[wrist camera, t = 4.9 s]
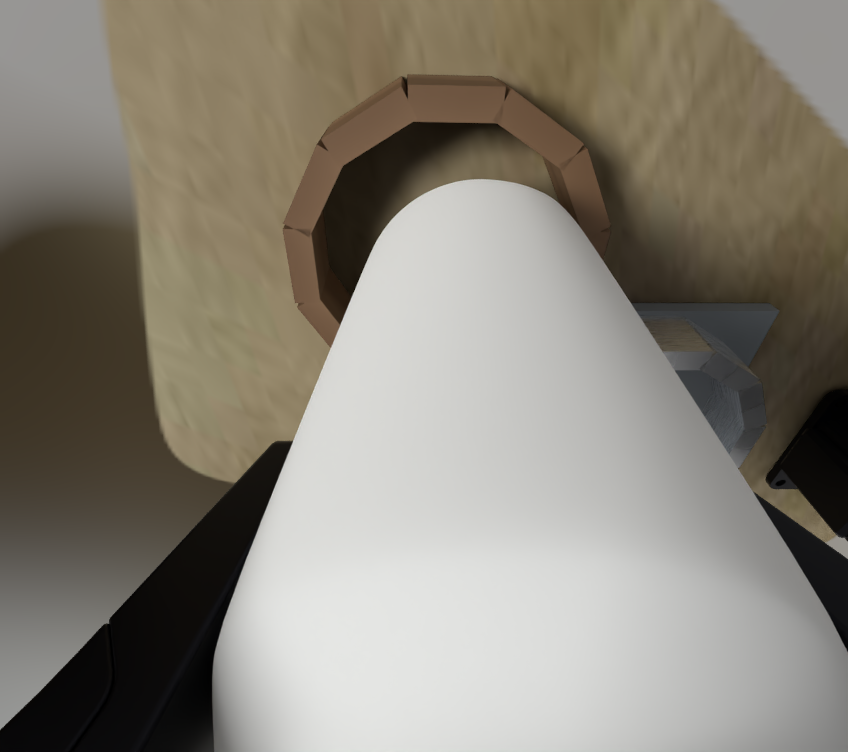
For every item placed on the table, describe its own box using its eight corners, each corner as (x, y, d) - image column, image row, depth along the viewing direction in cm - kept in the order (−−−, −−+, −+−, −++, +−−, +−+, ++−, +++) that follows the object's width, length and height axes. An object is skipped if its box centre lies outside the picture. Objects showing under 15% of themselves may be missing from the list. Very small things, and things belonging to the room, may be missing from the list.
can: (638, 218, 12) (1392, 969, 2) (533, 401, 16) (653, 982, 6) (397, 136, 11) (22, 758, 2) (347, 350, 15) (144, 923, 5)
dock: (769, 303, 18) (824, 346, 16) (678, 472, 24) (708, 521, 22) (516, 302, 18) (534, 346, 15) (489, 474, 24) (498, 524, 22)
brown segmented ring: (614, 79, 13) (649, 89, 12) (551, 351, 19) (568, 388, 17) (279, 71, 13) (257, 81, 11) (319, 352, 19) (309, 389, 17)
